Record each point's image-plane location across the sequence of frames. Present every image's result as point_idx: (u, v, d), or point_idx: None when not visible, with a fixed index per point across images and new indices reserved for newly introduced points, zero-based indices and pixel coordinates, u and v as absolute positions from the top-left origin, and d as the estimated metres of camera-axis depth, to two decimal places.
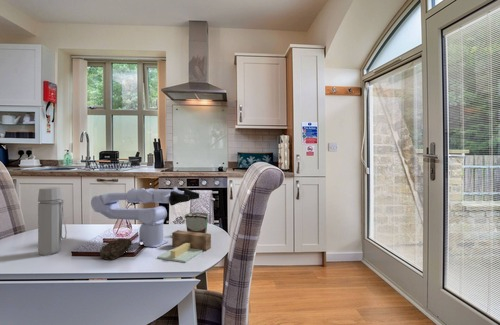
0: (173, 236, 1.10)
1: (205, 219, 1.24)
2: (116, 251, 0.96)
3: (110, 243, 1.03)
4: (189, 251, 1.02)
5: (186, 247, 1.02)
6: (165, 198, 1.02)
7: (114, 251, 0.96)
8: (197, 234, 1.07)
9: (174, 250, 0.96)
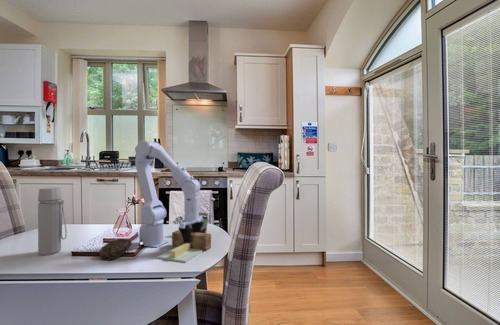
0: (173, 236, 1.10)
1: (205, 219, 1.24)
2: (115, 251, 0.96)
3: (110, 243, 1.02)
4: (189, 251, 1.02)
5: (186, 247, 1.02)
6: (181, 225, 1.02)
7: (113, 251, 0.95)
8: (197, 234, 1.08)
9: (174, 250, 0.96)
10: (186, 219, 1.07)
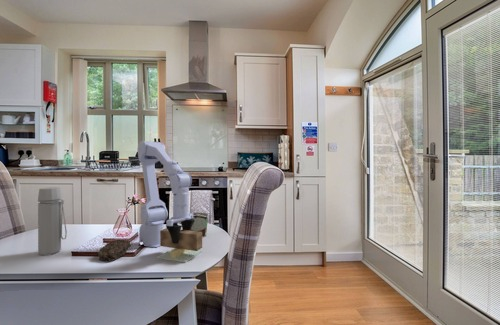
0: (161, 234, 1.01)
1: (205, 219, 1.24)
2: (114, 253, 0.95)
3: (108, 244, 1.01)
4: (189, 251, 1.02)
5: None
6: (169, 223, 0.93)
7: (112, 253, 0.94)
8: (187, 232, 0.99)
9: (174, 250, 0.96)
10: (175, 216, 0.98)
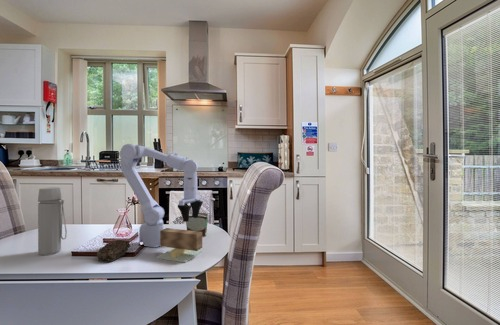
0: (161, 234, 1.01)
1: (205, 219, 1.24)
2: (113, 253, 0.94)
3: (107, 245, 1.01)
4: (189, 251, 1.02)
5: None
6: (181, 203, 1.07)
7: (111, 253, 0.94)
8: (187, 232, 0.99)
9: (174, 250, 0.96)
10: (185, 197, 1.12)
